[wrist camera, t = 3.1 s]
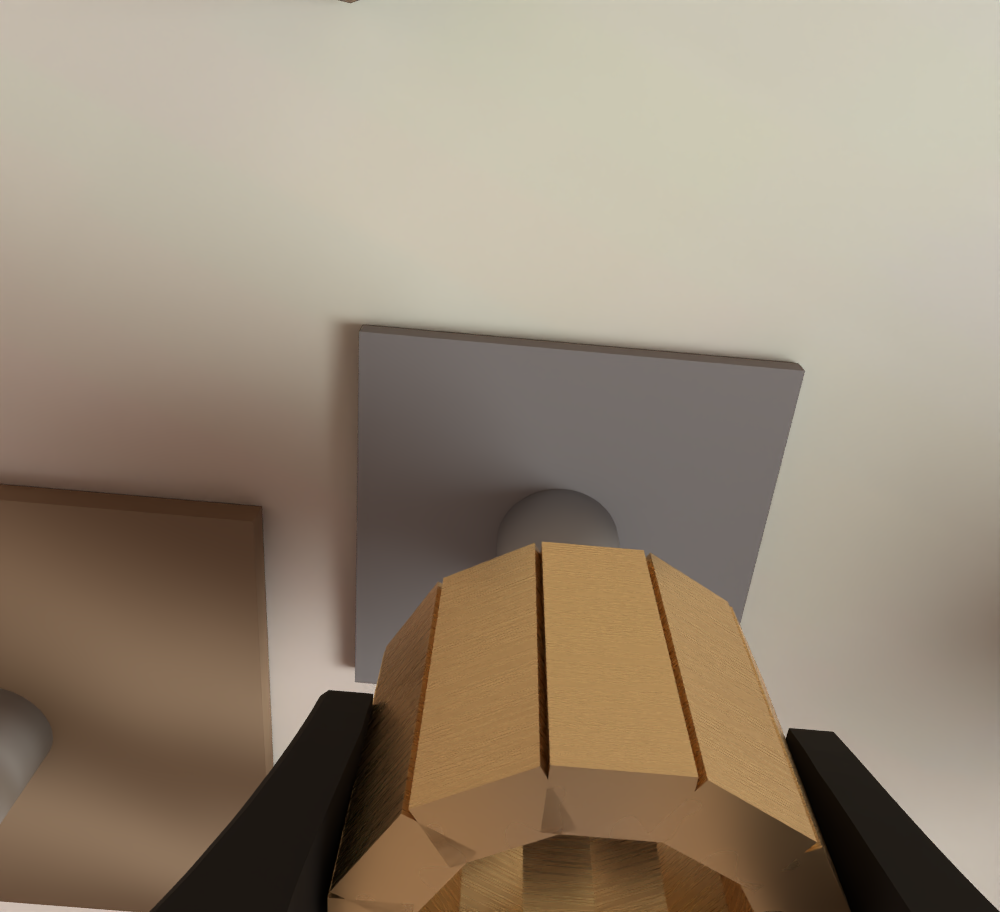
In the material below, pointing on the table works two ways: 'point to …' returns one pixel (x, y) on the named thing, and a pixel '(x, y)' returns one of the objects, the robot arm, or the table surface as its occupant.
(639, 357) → the stand rod
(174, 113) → the table surface
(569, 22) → the table surface
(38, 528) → the hub plate
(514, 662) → the wooden ring
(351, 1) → the wooden block
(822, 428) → the table surface
